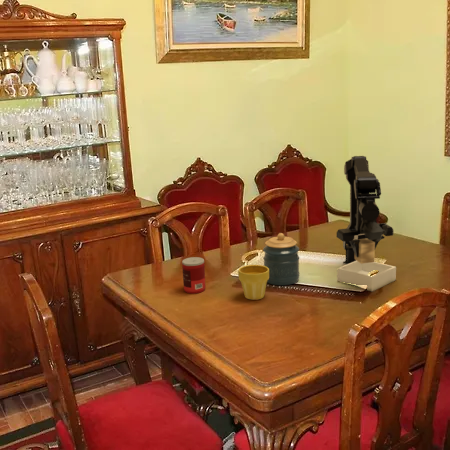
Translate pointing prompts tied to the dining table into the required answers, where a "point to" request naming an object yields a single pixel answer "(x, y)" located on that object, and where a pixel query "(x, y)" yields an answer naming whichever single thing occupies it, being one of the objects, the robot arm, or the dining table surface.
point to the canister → (282, 260)
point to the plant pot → (254, 280)
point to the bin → (358, 274)
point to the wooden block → (366, 251)
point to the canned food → (193, 275)
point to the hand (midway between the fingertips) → (364, 256)
